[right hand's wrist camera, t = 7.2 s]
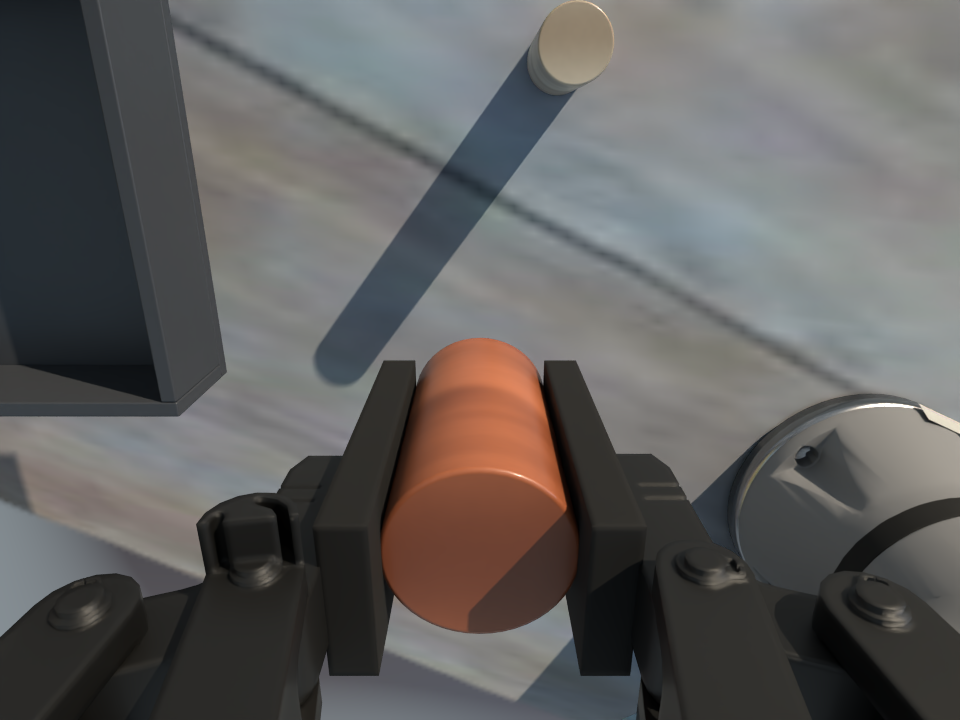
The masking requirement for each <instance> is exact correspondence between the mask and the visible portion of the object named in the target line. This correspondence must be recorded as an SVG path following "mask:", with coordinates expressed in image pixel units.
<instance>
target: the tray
mask: <svg viewBox="0 0 960 720" xmlns="http://www.w3.org/2000/svg"><path fill="white" fill-rule="evenodd" d="M226 372H227V370H226V364H225V357H224V351H223V345H222V339H221V332H220V326H219V320H218V313H217V307H216V301H215V294H214V288H213V282H212V275H211V269H210V263H209V256H208V250H207V244H206V238H205V231H204V225H203V219H202V212H201V206H200V200H199V193H198V187H197V181H196V174H195V168H194V162H193V156H192V149H191V143H190V137H189V130H188V124H187V118H186V111H185V105H184V99H183V92H182V86H181V80H180V73H179V67H178V61H177V55H176V48H175V42H174V36H173V29H172V23H171V17H170V10H169V4H168V0H0V416H180V415H181V414H182V413H183V412H184V411H185V410H186V409H188V408H189V407H190V406H191V405H192V404H193V403H194V402H195V401H196V400H197V399H198V398H199V397H200V396H202V395H203V394H204V393H205V392H206V391H207V390H208V389H209V388H210V387H211V386H212V385H213V384H214V383H216V382H217V381H218V380H219V379H220V378H221V377H222V376H223V375H224V374H225V373H226Z"/></svg>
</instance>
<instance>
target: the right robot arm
mask: <svg viewBox="0 0 960 720" xmlns="http://www.w3.org/2000/svg"><path fill="white" fill-rule="evenodd" d="M543 387H544V391H545V395H546V399H547V404H548V408H549V412H550V416H551V420H552V424H553V428H554V432H555V436H556V440H557V444H558V448H559V452H560V456H561V460H562V464H563V468H564V472H565V476H566V480H567V484H568V489H569V493H570V497H571V501H572V505H573V509H574V513H575V517H576V521H577V525H578V529H579V551H578V565H577V574H576V577H575V579H574V581H573V583H572V585H571V587H570V589H569V590H568V591H567V593H566V600H567V605H568V610H569V616H570V621H571V626H572V632H573V637H574V642H575V648H576V653H577V658H578V664H579V669H580V674H581V676H630V671H631V663H632V654H633V650H634V653H635V657H636V660H637V663H638V667H639V670H640V673H641V682H640V690H639V698H638V706H637V713H635V714H633V715H631V716H629V717H626V718H624V719H622V720H960V423H959V422H956V421H954V420H952V419H950V418H948V417H946V416H944V415H942V414H939V413H937V412H935V411H933V410H931V409H929V408H927V407H925V406H923V405H920V404H918V403H916V402H914V401H911V400H908V399H905V398H901V397H897V396H891V395H884V394H858V395H850V396H844V397H840V398H835V399H831V400H828V401H825V402H822V403H819V404H817V405H814V406H811V407H809V408H807V409H805V410H803V411H801V412H799V413H797V414H795V415H794V416H792V417H790V418H789V419H787V420H786V421H784V422H783V423H781V424H780V425H778V426H777V427H776V428H775V429H773V430H772V431H771V432H770V433H769V434H767V435H766V436H765V437H764V438H763V439H762V440H761V441H760V442H759V443H758V444H757V446H756V447H755V448H754V449H753V450H752V451H751V453H750V454H749V456H748V457H747V458H746V460H745V461H744V463H743V465H742V466H741V468H740V470H739V472H738V474H737V476H736V478H735V480H734V483H733V486H732V489H731V493H730V497H729V503H728V525H729V531H730V535H731V538H732V541H733V543H734V546H735V547H736V549H737V551H738V553H739V555H740V556H741V558H742V559H741V558H740V557H739V556H738V555H736V554H735V553H734V552H732V551H731V550H728V549H726V548H724V547H721V546H719V545H717V544H715V543H713V542H712V540H711V539H710V537H709V535H708V533H707V532H706V530H705V528H704V526H703V525H702V523H701V521H700V519H699V518H698V516H697V514H696V513H695V511H694V509H693V507H692V506H691V504H690V502H689V500H687V499H686V495H685V493H684V492H683V490H682V488H681V487H679V483H678V481H677V480H676V478H675V476H674V474H673V473H672V471H671V469H670V468H669V467H668V466H667V465H665V464H664V463H663V462H661V461H660V460H659V459H657V458H656V457H655V456H653V455H652V454H616V453H615V451H614V448H613V446H612V444H611V441H610V439H609V437H608V434H607V432H606V430H605V427H604V425H603V423H602V420H601V418H600V416H599V413H598V411H597V409H596V406H595V404H594V402H593V399H592V397H591V395H590V392H589V390H588V388H587V386H586V383H585V381H584V379H583V376H582V374H581V372H580V369H579V367H578V365H577V362H576V361H544V382H543ZM415 390H416V368H415V361H383V364H382V366H381V368H380V371H379V373H378V375H377V377H376V380H375V382H374V384H373V387H372V389H371V391H370V394H369V396H368V398H367V401H366V403H365V405H364V408H363V410H362V412H361V415H360V417H359V419H358V422H357V424H356V426H355V429H354V431H353V433H352V436H351V438H350V440H349V443H348V445H347V447H346V449H345V452H344V454H343V456H308V457H306V458H305V459H304V460H302V461H301V462H300V463H298V464H297V465H296V466H294V467H293V468H292V469H290V471H289V472H288V474H287V476H286V478H285V479H284V481H283V483H282V485H281V489H279V490H278V492H277V493H253V494H247V495H242V496H237V497H235V498H232V499H229V500H227V501H224V502H222V503H220V504H218V505H216V506H215V507H213V508H212V509H210V510H209V511H207V512H206V513H205V514H204V515H203V516H202V518H201V519H200V520H199V521H198V523H197V524H196V526H197V531H198V536H199V541H200V546H201V551H202V556H203V561H204V566H205V572H206V576H205V579H204V581H203V583H201V584H199V585H196V586H192V587H189V588H185V589H182V590H178V591H173V592H168V593H164V594H159V595H155V596H150V597H146V598H143V597H142V593H141V589H140V585H139V584H138V583H137V582H136V581H135V580H134V579H133V578H132V577H129V576H125V575H120V574H116V573H115V574H102V575H94V576H91V577H87V578H83V579H80V580H77V581H74V582H72V583H70V584H67V585H65V586H63V587H61V588H59V589H57V590H55V591H53V592H52V593H50V594H49V595H48V596H46V597H45V598H43V599H42V600H41V601H39V602H38V603H37V604H35V605H34V606H33V607H32V608H31V609H30V610H29V611H28V612H27V613H26V614H25V615H23V616H22V617H21V618H20V619H19V620H18V621H17V622H16V623H15V624H14V625H13V626H12V627H11V628H10V629H9V630H7V631H6V632H5V633H4V634H3V635H2V636H1V637H0V720H320V718H321V708H322V698H321V691H320V682H319V675H320V671H321V668H322V665H323V661H324V658H325V655H326V651H327V658H328V667H329V675H330V676H379V672H380V667H381V661H382V656H383V651H384V645H385V640H386V635H387V629H388V624H389V619H390V613H391V608H392V603H393V597H394V594H393V592H392V591H391V589H390V588H389V586H388V584H387V582H386V580H385V578H384V576H383V570H382V558H381V542H380V532H381V527H382V523H383V519H384V515H385V511H386V507H387V503H388V499H389V495H390V491H391V487H392V483H393V479H394V475H395V471H396V467H397V463H398V459H399V454H400V450H401V446H402V442H403V438H404V434H405V430H406V426H407V422H408V418H409V414H410V410H411V406H412V402H413V398H414V394H415ZM756 579H757V580H756Z"/></svg>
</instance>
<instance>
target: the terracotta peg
mask: <svg viewBox="0 0 960 720" xmlns="http://www.w3.org/2000/svg"><path fill="white" fill-rule="evenodd" d="M380 542H381V558H382V570H383V576H384V578H385V580H386V582H387V584H388V586H389V588H390V589H391V591H392V592H393V594H394V595H395V596H396V597H397V599H398V600H399V601H400V602H401V603H402V604H403V605H404V606H405V607H406V608H408V609H409V610H410V611H411V612H412V613H414V614H415V615H417V616H418V617H420V618H421V619H423V620H425V621H427V622H429V623H431V624H434V625H436V626H439V627H442V628H445V629H449V630H452V631H457V632H463V633H475V634H484V633H496V632H503V631H507V630H511V629H515V628H518V627H521V626H523V625H526V624H528V623H530V622H532V621H534V620H536V619H538V618H540V617H541V616H543V615H544V614H546V613H547V612H548V611H550V610H551V609H552V608H553V607H554V606H556V605H557V604H558V603H559V601H560V600H561V599H562V598H563V597H564V596H565V594H566V593H567V591H568V590H569V589H570V587H571V585H572V583H573V581H574V579H575V577H576V574H577V565H578V551H579V529H578V525H577V521H576V517H575V513H574V509H573V505H572V501H571V497H570V493H569V489H568V484H567V480H566V476H565V472H564V468H563V464H562V460H561V456H560V452H559V448H558V444H557V440H556V436H555V432H554V428H553V424H552V420H551V416H550V412H549V408H548V404H547V399H546V395H545V391H544V387H543V383H542V380H541V377H540V375H539V373H538V371H537V369H536V367H535V366H534V364H533V363H532V362H531V361H530V359H529V358H528V357H527V356H526V355H524V354H523V353H522V352H521V351H519V350H518V349H516V348H515V347H513V346H511V345H509V344H507V343H504V342H501V341H498V340H494V339H488V338H471V339H466V340H462V341H458V342H455V343H453V344H451V345H449V346H447V347H445V348H443V349H442V350H440V351H439V352H438V353H436V354H435V355H434V356H433V357H432V358H431V359H430V360H429V361H428V363H427V364H426V365H425V367H424V368H423V370H422V372H421V374H420V376H419V379H418V382H417V386H416V390H415V394H414V398H413V402H412V406H411V410H410V414H409V418H408V422H407V426H406V430H405V434H404V438H403V442H402V446H401V450H400V454H399V459H398V463H397V467H396V471H395V475H394V479H393V483H392V487H391V491H390V495H389V499H388V503H387V507H386V511H385V515H384V519H383V523H382V527H381V532H380Z"/></svg>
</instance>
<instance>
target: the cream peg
mask: <svg viewBox="0 0 960 720" xmlns="http://www.w3.org/2000/svg"><path fill="white" fill-rule="evenodd" d="M613 49H614V33H613V29H612V25H611V23H610V21H609V19H608V17H607V16H606V14H605V13H604V12H603V11H602V10H601V9H600V8H599V7H598V6H596V5H594V4H593V3H590V2H587V1H583V0H573V1H568V2H566V3H563V4H561V5H559V6H558V7H556V8H555V9H554V10H553V11H552V12H550V14H549V15H548V16H547V17H546V19H545V20H544V22H543V24H542V26H541V27H540V29H539V31H538V33H537V35H536V37H535V38H534V40H533V42H532V44H531V46H530V48H529V52H528V56H527V67H528V72H529V75H530V78H531V80H532V81H533V83H534V84H535V85H536V86H537V87H538V88H539V89H540V90H541V91H543V92H545V93H547V94H550V95H564V94H567V93H570V92H572V91H574V90H576V89H578V88H579V87H581V86H583V85H585V84H587V83H589V82H591V81H593V80H594V79H596V78H597V77H598V76H599V75H600V74H601V73H602V72H603V71H604V70H605V68H606V67H607V65H608V63H609V61H610V59H611V57H612V53H613Z"/></svg>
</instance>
